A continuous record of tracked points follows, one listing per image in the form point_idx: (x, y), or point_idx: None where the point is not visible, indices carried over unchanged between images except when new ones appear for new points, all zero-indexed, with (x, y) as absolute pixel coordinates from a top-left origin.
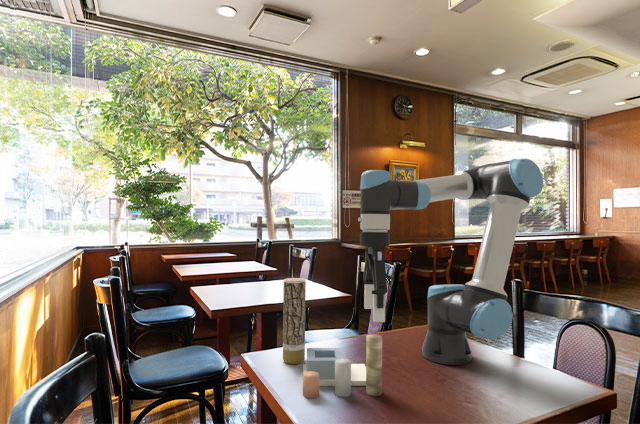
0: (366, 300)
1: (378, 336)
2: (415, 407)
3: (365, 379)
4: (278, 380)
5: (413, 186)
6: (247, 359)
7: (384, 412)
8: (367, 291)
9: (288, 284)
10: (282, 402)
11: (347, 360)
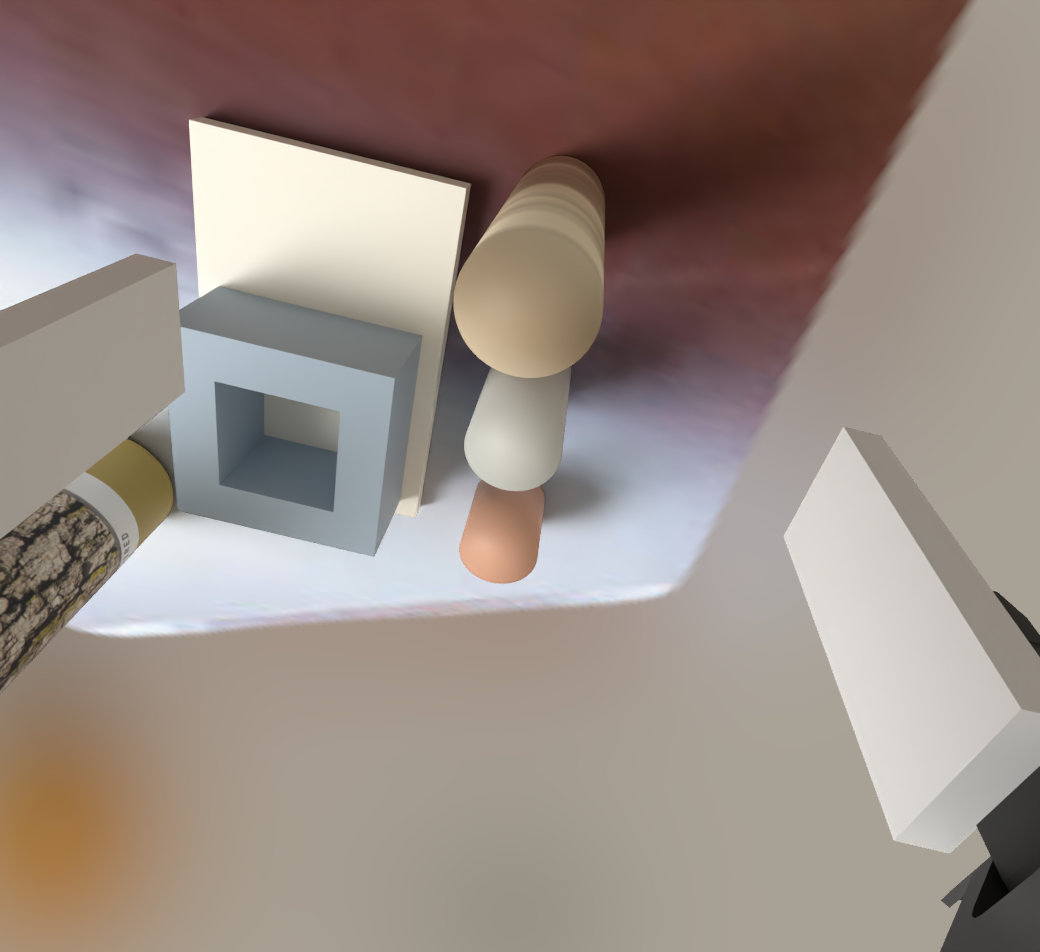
0: (116, 422)
1: (535, 269)
2: (815, 29)
3: (441, 217)
4: (352, 574)
5: None
6: (128, 633)
7: (785, 247)
8: (7, 486)
9: None
10: (549, 599)
11: (504, 421)
